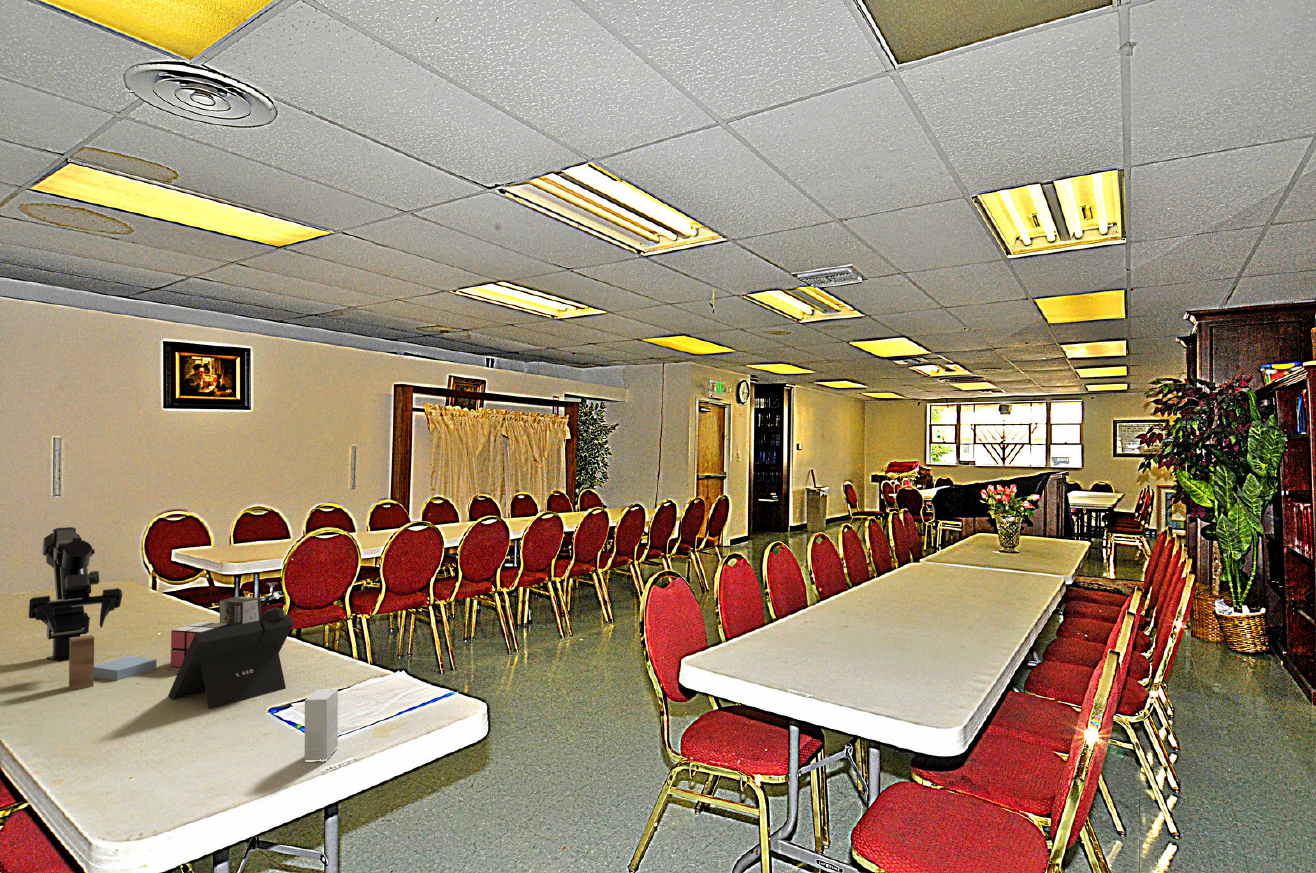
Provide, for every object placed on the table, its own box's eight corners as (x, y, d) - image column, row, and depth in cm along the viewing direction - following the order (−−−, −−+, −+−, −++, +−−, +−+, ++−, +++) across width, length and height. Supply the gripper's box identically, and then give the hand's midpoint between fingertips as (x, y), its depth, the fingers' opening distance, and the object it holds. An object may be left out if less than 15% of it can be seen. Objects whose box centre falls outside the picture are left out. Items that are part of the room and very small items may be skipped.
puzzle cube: (200, 669, 190) (201, 632, 190) (169, 667, 192) (170, 630, 192) (230, 658, 200) (230, 623, 200) (200, 656, 202) (200, 621, 202)
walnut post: (68, 686, 176) (69, 637, 176) (91, 681, 179) (92, 634, 179) (70, 690, 173) (71, 641, 173) (93, 686, 176) (94, 637, 176)
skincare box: (315, 749, 140) (316, 688, 140) (338, 748, 140) (338, 688, 140) (303, 763, 134) (303, 699, 134) (326, 762, 134) (327, 699, 134)
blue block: (90, 678, 184) (90, 666, 184) (130, 666, 193) (130, 655, 193) (117, 682, 180) (117, 670, 181) (156, 670, 190) (156, 659, 190)
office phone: (269, 659, 199) (270, 588, 200) (324, 679, 183) (325, 601, 183) (148, 688, 175) (150, 607, 176) (199, 713, 159) (200, 624, 159)
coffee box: (261, 653, 204) (262, 597, 205) (242, 659, 198) (242, 602, 199) (238, 650, 207) (238, 595, 208) (218, 656, 201) (218, 599, 202)
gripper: (30, 565, 179) (32, 617, 171) (121, 558, 192) (127, 605, 184) (27, 592, 184) (29, 643, 176) (116, 583, 197) (122, 630, 189)
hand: (78, 629), depth 181 cm, fingers open, 9 cm apart
